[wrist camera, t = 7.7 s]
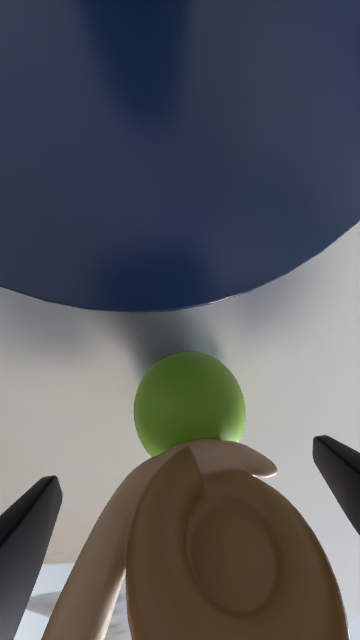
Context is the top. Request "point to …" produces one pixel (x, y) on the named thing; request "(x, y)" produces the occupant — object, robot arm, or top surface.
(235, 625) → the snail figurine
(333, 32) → the pot lid
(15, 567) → the robot arm
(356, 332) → the top surface
